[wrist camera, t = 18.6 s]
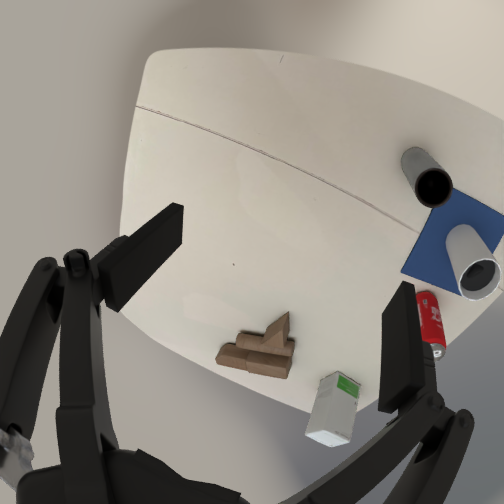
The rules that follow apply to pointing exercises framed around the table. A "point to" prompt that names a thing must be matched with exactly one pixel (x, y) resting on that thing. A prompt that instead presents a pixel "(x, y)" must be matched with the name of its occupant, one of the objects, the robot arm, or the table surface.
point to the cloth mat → (435, 233)
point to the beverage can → (431, 323)
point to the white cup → (472, 263)
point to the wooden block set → (261, 351)
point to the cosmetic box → (334, 410)
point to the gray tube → (426, 178)
